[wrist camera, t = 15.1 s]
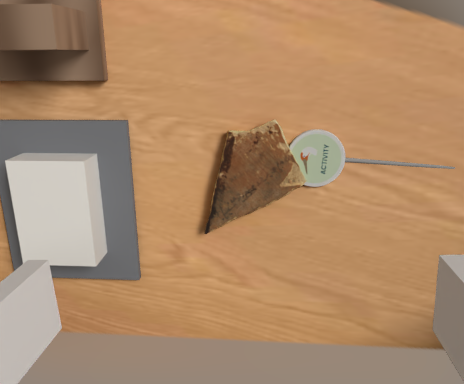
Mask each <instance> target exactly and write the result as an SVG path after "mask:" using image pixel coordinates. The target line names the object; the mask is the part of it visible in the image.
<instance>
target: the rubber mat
mask: <svg viewBox="0 0 464 384" xmlns="http://www.w3.org/2000/svg"><path fill="white" fill-rule="evenodd" d="M22 153H81V154H97V160H98V169H99V179H100V188H101V197H102V207H103V216H104V225H105V235H106V244H107V253H106V255H105V256H104V257H103V258H102V260H101V261H100V262H99V264H98V265H97V266H96V267H94V266H58V265H50V270H51V275H52V277H55V278H89V279H122V280H139V279H140V278H141V273H140V261H139V249H138V237H137V225H136V212H135V200H134V188H133V176H132V163H131V151H130V139H129V127H128V120H0V196H1V202H2V207H3V213H4V218H5V224H6V229H7V234H8V240H9V245H10V251H11V256H12V262H13V267H14V271H15V270H16V269H17V268H19V267H20V266H21V265H22V264H23V260H22V255H21V249H20V243H19V238H18V232H17V226H16V220H15V215H14V209H13V203H12V198H11V192H10V186H9V181H8V175H7V169H6V164H5V160H8V159H10V158H13V157H15V156H17V155H20V154H22Z"/></svg>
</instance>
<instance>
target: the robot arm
mask: <svg viewBox="0 0 464 384" xmlns="http://www.w3.org/2000/svg"><path fill="white" fill-rule="evenodd" d="M61 328H62V326H61V321H60V316H59V311H58V306H57V301H56V296H55V290H54V285H53V280H52V275H51V270H50V265H49V260H27V261H26V262H25V263H24V264H22V265H21V266H20V267H19V268H17V269H16V270H15V271H14V272H13V273H11V274H10V275H9V276H8V277H6V278H5V279H4V280H3V281H1V282H0V384H18V383H19V381H20V380H21V379H22V378H23V376H24V375H25V374H26V373H27V371H28V370H29V369H30V367H31V366H32V365H33V364H34V362H35V361H36V360H37V359H38V357H39V356H40V355H41V354H42V352H43V351H44V350H45V349H46V347H47V346H48V345H49V344H50V342H51V341H52V340H53V339H54V337H55V336H56V334H57V333H58V332H59V331H60V330H61ZM433 331H434V333H435V335H436V336H437V338H438V340H439V341H440V343H441V345H442V346H443V348H444V350H445V351H446V353H447V354H448V356H449V358H450V359H451V361H452V363H453V364H454V366H455V368H456V369H457V371H458V373H459V374H460V376H461V377H462V379H463V381H464V255H439V264H438V275H437V286H436V297H435V308H434V320H433Z"/></svg>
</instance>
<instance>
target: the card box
mask: <svg viewBox="0 0 464 384" xmlns="http://www.w3.org/2000/svg"><path fill="white" fill-rule="evenodd" d="M5 164H6V169H7V175H8V181H9V186H10V192H11V198H12V203H13V209H14V215H15V220H16V226H17V232H18V238H19V243H20V249H21V255H22V260H23V264H24V263H25V262H26V261H27V260H49V265H58V266H94V267H96V266H97V265H98V264H99V262H100V261H101V260H102V258H103V257H104V256H105V255H106V253H107V244H106V235H105V225H104V216H103V207H102V197H101V188H100V179H99V169H98V160H97V154H81V153H22V154H20V155H17V156H15V157H13V158H10V159H8V160H5Z"/></svg>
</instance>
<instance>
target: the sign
mask: <svg viewBox="0 0 464 384" xmlns="http://www.w3.org/2000/svg"><path fill="white" fill-rule="evenodd" d="M289 148H290V150H291V151H292V153H293V155H294V157H295V159H296V161H297V163H298V164H299V166H300V169H301V171H302V173H303V174H304V176H305V178H306V180H307V181H306V182H305V183H304V185H306V186H311V187H318V186H323V185H326V184H328V183H330V182H332V181H333V180H334V179H336V178H337V177H338V175H339V174H340V173H341V171H342V169H343V167H344V164H345V162H355V163H369V164H383V165H398V166H413V167H430V168H448V169H455V167H448V166H438V165H428V164H416V163H405V162H393V161H380V160H368V159H355V158H345V150H344V147H343V145H342V143H341V142H340V140H339V139H338V138H337V137H336V136H335V135H333V134H332V133H330V132H328V131H325V130H321V129H313V130H308V131H305V132H303V133H301V134H299V135H298V136H297V137H296V138H295V139H294V140H293V141H292V142H291V144H290V146H289Z"/></svg>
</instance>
